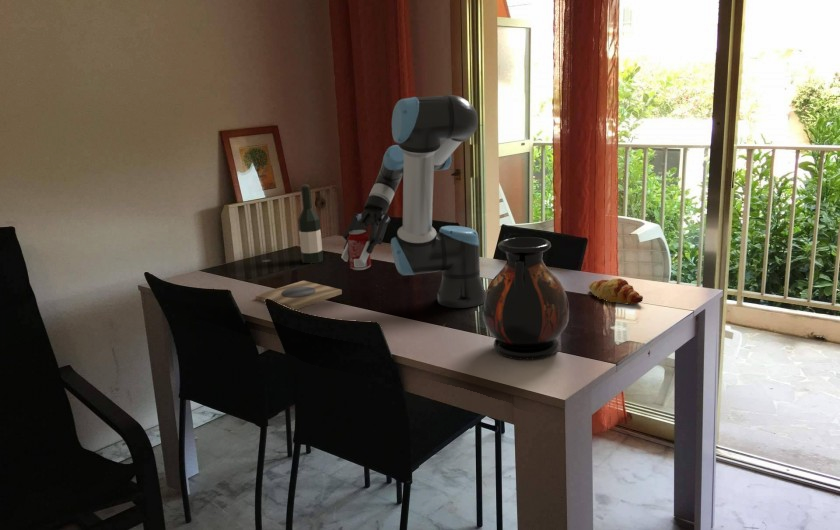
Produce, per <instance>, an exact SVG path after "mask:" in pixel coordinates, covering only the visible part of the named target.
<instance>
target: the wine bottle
mask: <svg viewBox="0 0 840 530" xmlns="http://www.w3.org/2000/svg"><path fill="white" fill-rule="evenodd" d="M300 189H301V199H302V211H301V212H300V214H299V217H298V219H297V222H298V223H297V224H298V233H299V243H300V244H299V245H300V253H301V254H300V255H301V262H302V263H303V264H304V263H310V264H309V265H311V264H312V263H314V264H319V262H320V263H321V261H322V262H323V261H324V252H323V244H322V243H323V242H322V233H321V221H320V218H319V217H318V215H317V213H316V212H315V210H314V209H313V204H312V203H313V202H312V194H311V186H310V184H302V185H301V188H300ZM312 265H313V264H312Z"/></svg>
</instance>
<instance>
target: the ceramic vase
mask: <svg viewBox="0 0 840 530" xmlns="http://www.w3.org/2000/svg"><path fill="white" fill-rule="evenodd" d="M551 247H552V244H551V241H549V240H548V239H545V238H542V237H536V236H535V237H534V236H521V237H520V236H519V237H511V238H506V239H504V240H501V241H500V242H499V243H498V244H497V248H498V249H499V250H500V251H501V252H503V253H505V255H506V262H505V263H504V266H503V267H502V269H501V270H500V271H499V272H498V273H497V274H496V275H495V276H494V277H493V279H492V280H491V281H490V282H489V284H488V287H487V289H486V290H485V291H486V294H485V298H484V303H483V304H482V309H481V310H482V311H481V312H482V320H483V323H484V325H485V327H486V329H487V331H488V332H489V334H491V336H492V337H493V338H494V341H493V349H494V351H496V353H498V354H500V355H501V356H503V357H506V358H508V359H513V360H524V361H525V360H526V361H529V360H538V359H544V358H547V357H549V356H552V355H553V354H555V353H556V352H557V351H558V350H559V348H560V342H559V340H558V339H559V337H560V336H561V335H562V333H563V332H564V331H565V329H566V328H567V326H568V323H569V320H570V305H569V300H568V296H567V293H566V289H565V288H564V286H563V284H562V283H561V280H560V279H559V278H558V277H557V276H556V275H555V274H554V273H553V272H552V271H551V270H550V269H549V267H547V266H546V263H544V259H543V255H544V253H545V252H546V251H548V250H549V249H550V248H551Z"/></svg>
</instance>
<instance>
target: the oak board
mask: <svg viewBox="0 0 840 530" xmlns="http://www.w3.org/2000/svg"><path fill="white" fill-rule="evenodd" d="M342 290H343V289H341V288H336V287H332V286H329V285H323V284H319V283H315V282H311V281H307V280H301V281H298V282H297V281H296V282H294V283H291V284H287V285H284V286H281V287H277V288H274V289H270V290H268V291H267V290H266V291H264V292H261V293H257V294H255V300H256V299H258V300H257V301H259V300H261V301H260V302H263V301H264V300H265V299H266V298H268V299H272V300H274V301H276V302H278V303H280V304H282V305H285V306H287V307H289V308H293V309H296V310H299V309H301V308H305V307H308V306H311V305H314V304H317V303H320V302H322V301H325V300H329V299H331V298H334V297H337V296H340V295H342V294H343V293H342V292H343V291H342Z"/></svg>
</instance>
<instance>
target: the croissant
mask: <svg viewBox="0 0 840 530" xmlns="http://www.w3.org/2000/svg"><path fill="white" fill-rule="evenodd" d="M588 288H589V290H590V292H591V293H592V295H594V296H595V297H596V296H597V297H596V298H598V297H599V298H598V299H599V300H601V299H605V300H607V301H611V302H610V303H612V302H613V303H614V302H619V303H618V304H622V303H628V304H627V305H636V304H638V303H641V302H643V299H644V297H643V295H640V293H639V292H638V291H636V290H635V288H634V286H633V285H630V284H629V283H628V281H627V280H625V279H623V278H620V277H619V278H612V279H601V280H599V281H598V280H596V281H593V282H591V283H590V284H589V285H588ZM605 300H604V301H605ZM607 301H606V302H607Z"/></svg>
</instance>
